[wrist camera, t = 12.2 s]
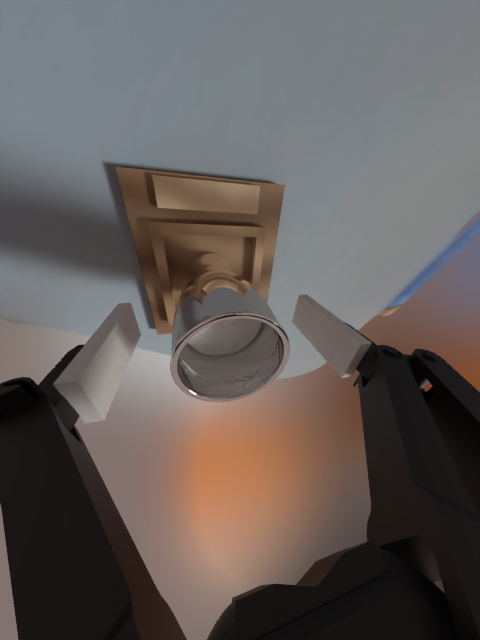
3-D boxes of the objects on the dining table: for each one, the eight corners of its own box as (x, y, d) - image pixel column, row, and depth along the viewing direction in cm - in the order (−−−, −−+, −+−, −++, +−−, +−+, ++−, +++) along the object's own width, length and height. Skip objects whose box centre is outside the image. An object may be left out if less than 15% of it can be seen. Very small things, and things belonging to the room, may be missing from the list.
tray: (120, 169, 16) (109, 163, 14) (280, 186, 19) (289, 183, 17) (159, 329, 25) (156, 339, 23) (261, 321, 29) (266, 329, 27)
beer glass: (179, 298, 22) (161, 407, 10) (185, 241, 19) (171, 296, 6) (230, 306, 24) (268, 402, 12) (244, 256, 21) (315, 318, 9)
